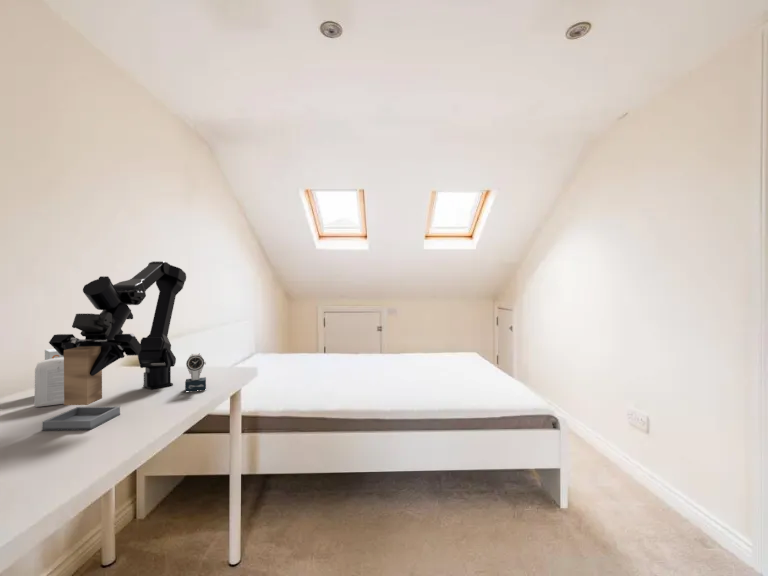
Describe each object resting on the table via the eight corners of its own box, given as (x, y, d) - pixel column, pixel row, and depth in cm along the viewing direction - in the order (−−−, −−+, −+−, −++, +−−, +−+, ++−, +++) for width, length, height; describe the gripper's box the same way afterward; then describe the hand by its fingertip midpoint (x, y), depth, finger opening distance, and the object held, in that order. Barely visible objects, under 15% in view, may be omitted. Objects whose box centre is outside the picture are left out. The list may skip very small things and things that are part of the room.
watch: (184, 394, 113) (184, 356, 113) (186, 387, 121) (186, 352, 120) (205, 392, 115) (205, 355, 115) (206, 385, 123) (206, 351, 123)
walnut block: (80, 398, 92) (80, 346, 92) (102, 398, 93) (101, 346, 93) (64, 405, 88) (63, 350, 87) (87, 404, 88) (86, 349, 88)
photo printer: (84, 398, 109) (84, 354, 109) (83, 402, 106) (82, 357, 106) (36, 404, 104) (35, 358, 104) (32, 408, 100) (32, 361, 100)
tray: (77, 415, 95) (77, 407, 95) (119, 414, 95) (119, 406, 95) (42, 430, 85) (42, 421, 85) (90, 430, 85) (90, 420, 85)
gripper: (54, 301, 93) (13, 355, 82) (134, 300, 94) (104, 354, 83) (79, 329, 101) (44, 382, 90) (152, 329, 102) (127, 381, 91)
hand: (79, 374), depth 89 cm, fingers closed on walnut block, 5 cm apart
